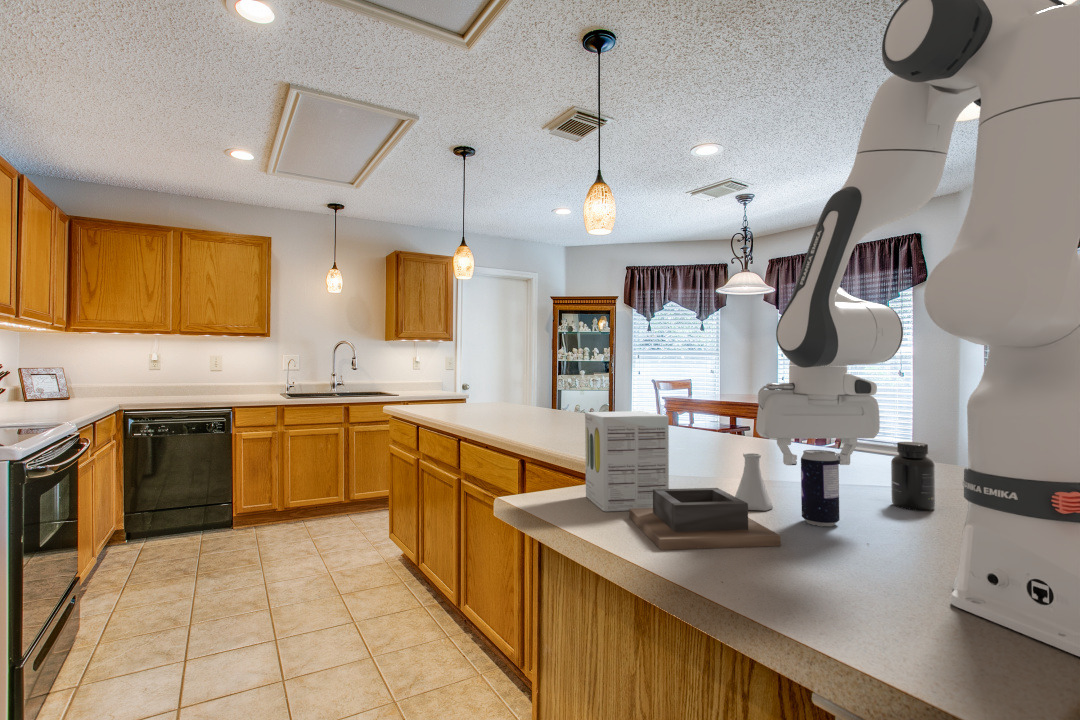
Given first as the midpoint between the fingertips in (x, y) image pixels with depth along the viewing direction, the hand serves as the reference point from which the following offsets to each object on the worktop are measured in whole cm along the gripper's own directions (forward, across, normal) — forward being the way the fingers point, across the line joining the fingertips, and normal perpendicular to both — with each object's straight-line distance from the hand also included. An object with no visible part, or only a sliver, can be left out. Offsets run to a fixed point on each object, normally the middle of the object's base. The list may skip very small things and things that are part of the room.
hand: (816, 464), depth 93 cm
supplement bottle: (+10, +24, +8) cm, 27 cm away
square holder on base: (+10, -22, -3) cm, 24 cm away
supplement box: (+11, -29, +17) cm, 35 cm away
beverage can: (+10, 0, -1) cm, 10 cm away
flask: (+10, -6, +11) cm, 16 cm away
